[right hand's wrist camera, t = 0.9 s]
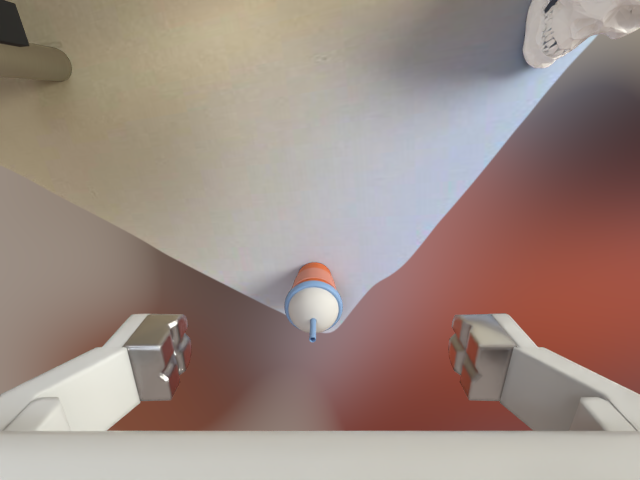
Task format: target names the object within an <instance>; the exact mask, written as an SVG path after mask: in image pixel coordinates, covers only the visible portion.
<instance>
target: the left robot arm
mask: <svg viewBox="0 0 640 480" xmlns="http://www.w3.org/2000/svg"><path fill="white" fill-rule="evenodd" d="M0 44H6V45H11V46H17V47H27V46H29V43H28V40H27V37H26V34H25V31H24V28H23V25H22V22H21V19H20V17H19V14H18V11H17V8H16V5H15V4H14V3H11V2H8V1H5V0H0Z"/></svg>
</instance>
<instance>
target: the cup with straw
mask: <svg viewBox="0 0 640 480" xmlns="http://www.w3.org/2000/svg"><path fill="white" fill-rule="evenodd" d="M342 309H343V304H342V299H341V297H340V295H339V293H338V292H337V290H336V287H335V283H334V280H333V278H332V276H331V273H330V271H329V269H328V268H327V267H326V266H324V265H323V264H320V263H315V262H314V263H308V264H306V265H304V266H303V267H302V268H301V269H300V271H299V273H298V275H297V277H296V279H295V281H294V284H293V287H292V289H291V291H290V292H289V293H288V295H287V297H286V300H285V313H286V316H287V318H288V320H289V321H290V322H291V324H292V325H294V326H295V327H296V328H298V329H300V330H302V331H304V332H308V333H310V336H309V340H310V342H315V341H316V333H320V332H323V331H326V330H328V329H330V328H331V327H333V326H334V325H335V324H336V323H337V322H338V320H339V319H340V317H341V314H342Z"/></svg>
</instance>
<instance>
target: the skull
mask: <svg viewBox="0 0 640 480" xmlns="http://www.w3.org/2000/svg"><path fill="white" fill-rule="evenodd" d="M550 1H551V0H532V2H531V4H530V7H529V10H528V14H527V20H526V32H525V39H524V45H523V55H524V58H525V60H526V62H527V63H528V64H529V65H530V66H532V67H533V68H546V67H549V66H550V65H552V64H553V63H554V62H555V61H556V59H558V58H560V57H562V56H564V55H565V54H567V53H568V52H570V51H572V50H573V49H575V48H576V47H577V46H578V45H580V44H581V43H582V42H583V41H585V40H586V39H587V38H588V37H590V36H592V35H597V34H604V35H606V36H608V37H610V38H611V39H617V38H620V37H623V36H625V35H627V34H630V33H632V32H633V31H636V30H637V29H639V28H640V0H558V1H557V2H556V4H555V5H553V6H552V7H551V8H550V10H549V11H548V12H547V13H545V12H544V10H545V8H546V7H547V5H548V4H549V2H550ZM552 12H553V13H552ZM550 28H551V30H550ZM549 30H550V31H549ZM551 33H552V34H551ZM544 35H545V37H544ZM553 37H554V38H555V39H552V38H553ZM551 39H552V40H551ZM549 40H550V41H549ZM547 41H549V42H547ZM555 41H556V42H557V44H556V45H554V46H553V47H551V48H550V46H551V45H553V44H554V42H555ZM544 42H547V43H545V45H544ZM545 46H547V48H545ZM558 48H559V49H558ZM557 49H558V50H557ZM547 50H548V51H547Z"/></svg>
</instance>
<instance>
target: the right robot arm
mask: <svg viewBox="0 0 640 480" xmlns="http://www.w3.org/2000/svg"><path fill="white" fill-rule="evenodd" d="M187 328H188V323H187V318H186V316H185V315H183V314H133V315H131V316H130V317H129V318H128V319H127V320H126V321H125V322H124V323H123V324H122V326H121V327H120V328H119V329H118V330H117V331H116V332H115V333H114V334H113V336H112V337H111V338H110V339H109V340H108V341H107V342H106V343H105V344H104V346H103V347H97V348H94V349H92V350H90V351H88V352H86V353H84V354H82V355H80V356H78V357H76V358H74V359H72V360H70V361H68V362H66V363H64V364H62V365H60V366H58V367H55V368H53V369H51V370H49V371H47V372H45V373H43V374H41V375H39V376H37V377H35V378H33V379H31V380H29V381H27V382H25V383H23V384H21V385H19V386H17V387H15V388H13V389H11V390H9V391H6V392H4V393H2V394H0V480H640V395H639V394H637V393H635V392H633V391H631V390H629V389H627V388H625V387H623V386H621V385H619V384H617V383H615V382H613V381H611V380H609V379H607V378H605V377H603V376H601V375H599V374H597V373H595V372H593V371H591V370H588V369H586V368H584V367H582V366H580V365H578V364H576V363H574V362H572V361H570V360H568V359H566V358H564V357H562V356H560V355H558V354H556V353H554V352H552V351H550V350H548V349H546V348H544V347H537V346H536V345H535V343H534V342H533V341H532V340H531V339H530V338H529V337H528V336H527V335H526V333H525V332H524V331H523V330H522V329H521V328H520V327H519V326H518V324H517V323H516V322H515V321H514V320H513V319H512V318H511V317H510V316H509V315H507V314H481V315H455V316H454V318H453V322H452V328H453V330H454V332H455V334H454V335H453V336H452V337H451V338H450V340H449V348H448V350H449V359H450V362H451V365H452V367H453V369H454V371H455V372H457V373H458V374H460V375H461V378H460V383H461V385H462V387H463V389H464V391H465V393H466V395H467V397H468V399H469V400H483V401H500V403H501V404H502V405H503V406H505V407H506V408H507V409H508V410H510V411H511V412H512V413H513V414H514V415H515V416H517V417H518V418H519V419H520V420H521V421H523V422H524V423H525V424H526V425H527V426H529V427H530V428H531V429H532V430H534V431H107V430H108V429H109V428H110V427H111V426H113V425H114V424H115V423H116V422H117V421H119V420H120V419H121V418H122V417H123V416H125V415H126V414H127V413H128V412H130V411H131V410H132V409H133V408H134V407H136V406H137V405H138V404H139V403H140V401H157V400H171V399H172V397H173V395H174V393H175V391H176V389H177V387H178V385H179V383H180V379H179V375H180V374H182V373H183V372H185V371H186V369H187V367H188V365H189V362H190V358H191V340H190V338H189V337H188V336H187V335H186V334H185V332H186V330H187Z"/></svg>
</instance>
